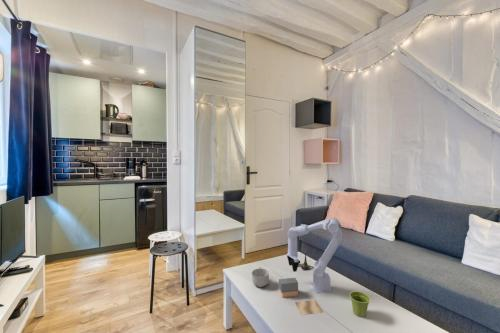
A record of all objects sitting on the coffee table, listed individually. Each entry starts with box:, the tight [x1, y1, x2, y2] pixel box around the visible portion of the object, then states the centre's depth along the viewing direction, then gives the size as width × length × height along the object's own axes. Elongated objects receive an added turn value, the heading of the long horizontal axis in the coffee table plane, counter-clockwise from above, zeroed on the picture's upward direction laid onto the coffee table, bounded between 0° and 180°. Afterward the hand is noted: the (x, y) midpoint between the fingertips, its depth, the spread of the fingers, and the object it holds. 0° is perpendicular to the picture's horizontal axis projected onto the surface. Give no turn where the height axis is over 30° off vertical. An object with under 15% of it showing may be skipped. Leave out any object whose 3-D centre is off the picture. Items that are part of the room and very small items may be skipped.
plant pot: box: [349, 290, 371, 318], centre depth 116 cm, size 9×9×9 cm
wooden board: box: [294, 299, 324, 316], centre depth 120 cm, size 12×10×1 cm
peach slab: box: [279, 290, 299, 299], centre depth 132 cm, size 9×6×3 cm, turn 98°
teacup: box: [251, 266, 270, 288], centre depth 144 cm, size 14×11×8 cm
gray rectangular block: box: [278, 277, 299, 292], centre depth 132 cm, size 10×5×5 cm, turn 98°
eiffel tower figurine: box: [298, 251, 315, 272], centre depth 161 cm, size 15×10×13 cm
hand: (292, 268), depth 143 cm, fingers open, 7 cm apart
